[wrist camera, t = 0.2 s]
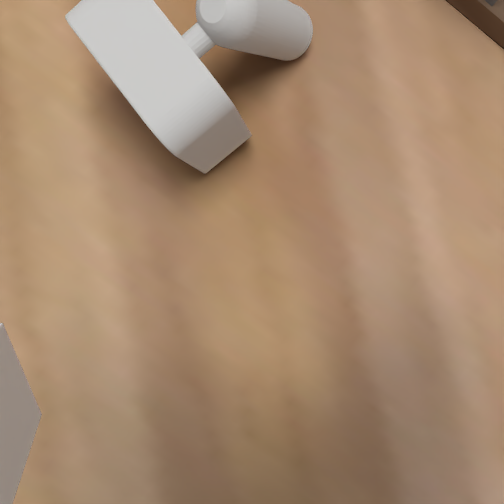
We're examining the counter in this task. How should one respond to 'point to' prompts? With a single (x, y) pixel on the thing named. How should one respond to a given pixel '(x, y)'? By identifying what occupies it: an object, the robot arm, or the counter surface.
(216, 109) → the white joystick
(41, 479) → the counter surface
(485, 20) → the crossbar stand
